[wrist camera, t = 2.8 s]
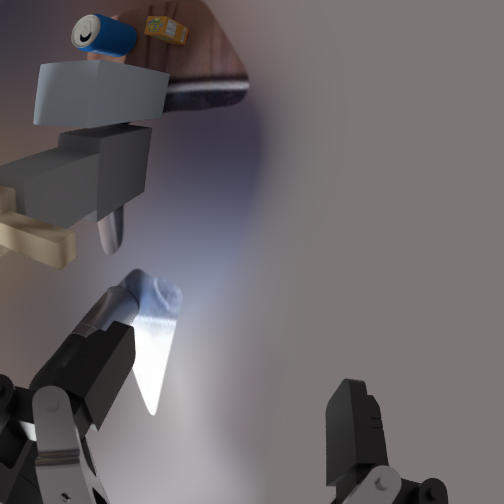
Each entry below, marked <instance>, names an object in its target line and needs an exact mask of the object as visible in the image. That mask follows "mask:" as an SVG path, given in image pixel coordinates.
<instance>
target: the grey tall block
mask: <svg viewBox="0 0 504 504" xmlns="http://www.w3.org/2000/svg"><path fill="white" fill-rule="evenodd" d="M169 77H170V74H168V73H164V72H160V71H155V70H151V69H146V68H142V67H137V66H132V65H127V64H122V63H116V62H111V61H105V60H84V61H69V62H59V63H50V64H42V65H41V69H40V74H39V80H38V87H37V95H36V103H35V113H34V124H37V125H54V126H55V125H56V126H68V127H80V128H94V127H99V126H105V125H111V124H118V123H125V122H132V121H140V120H147V119H157V118H162V113H163V107H164V102H165V97H166V92H167V87H168V82H169Z"/></svg>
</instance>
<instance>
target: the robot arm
mask: <svg viewBox="0 0 504 504" xmlns="http://www.w3.org/2000/svg"><path fill="white" fill-rule="evenodd" d="M138 311H139V307H138V303H137V301H136V299H135V298H134V296H133V295H132V294H131V293H130V292H128V291H127V290H125V289H124V288H121V287H116V286H114V287H110V288H109V289H108V290H107V291H106V292H105V293H104V294H103V295H102V296H101V298H100V299H99V300H98V301H97V302H96V303H95V304H94V305H93V307H92V308H91V309H90V310H89V311H88V313H87V314H86V315H85V316H84V317H83V318H82V320H81V321H80V322H79V323H78V325H77V326H76V327H75V328H74V329H73V331H72V332H71V333H70V334H69V336H68V337H67V338H66V339H65V341H64V342H63V343H62V345H61V346H60V347H59V348H58V350H57V351H56V352H55V354H53V356H52V357H51V358H50V359H49V360H48V362H46V364H45V365H44V366H43V367H42V368H41V369H40V371H39V372H38V373H37V374H36V375H35V377H34V378H33V380H32V381H31V384H30V386H29V389H25V388H21V387H17V386H14V385H13V383H12V381H11V380H10V379H9V378H8V377H7V376H5V375H2V374H0V504H110V502H109V500H108V497H107V495H106V492H105V490H104V488H103V486H102V484H101V481H100V479H99V476H98V473H97V470H96V467H95V464H94V460H93V457H92V453H91V450H90V446H89V442H88V439H87V435H86V433H87V431H88V429H89V428H91V429H93V430H95V431H97V432H98V431H99V429H100V427H101V425H102V422H103V421H104V419H105V417H106V415H107V413H108V411H109V409H110V408H111V406H112V404H113V402H114V400H115V398H116V396H117V394H118V392H119V391H120V389H121V387H122V385H123V383H124V381H125V379H126V378H127V376H128V374H129V372H130V370H131V369H132V367H133V364H134V361H135V355H136V351H135V336H134V328H133V326H130V325H131V324H132V322H133V320H134V319H135V317H136V315H137V314H138ZM382 428H383V424H382V420H381V413H380V407H379V405H378V403H377V402H376V400H375V398H374V397H373V396H372V395H367V390H366V385H365V382H364V381H359V380H353V379H344V380H343V381H342V383H341V384H340V386H339V387H338V389H337V390H336V392H335V393H334V394H333V396H332V397H331V399H330V400H329V402H328V405H327V408H326V455H327V457H326V462H327V463H326V464H327V465H326V466H327V467H326V472H327V473H326V478H327V479H326V486H336V495H335V496H334V497H333V498H332V499H331V501H330V502H329V503H328V504H448V495H447V489H446V486H445V485H444V484H443V482H442V481H440V480H439V479H436V478H429V479H427V480H425V481H424V482H422V483H417V482H413V481H409V480H405V479H402V478H400V475H399V474H398V472H397V471H396V470H395V469H393V468H391V467H389V464H388V458H387V451H386V444H385V438H384V431H383V429H382Z"/></svg>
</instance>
